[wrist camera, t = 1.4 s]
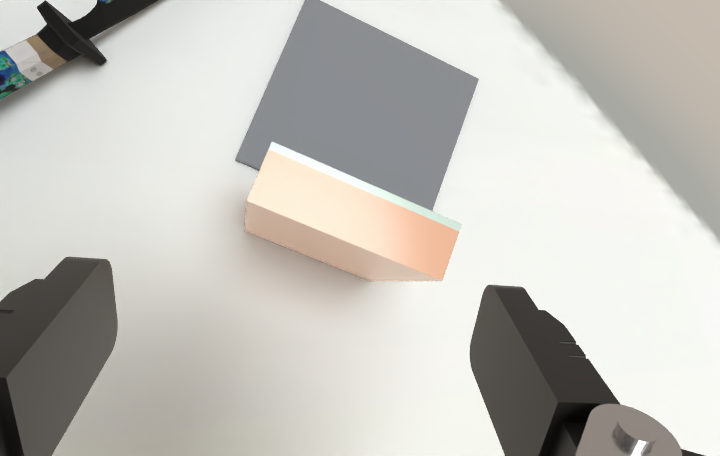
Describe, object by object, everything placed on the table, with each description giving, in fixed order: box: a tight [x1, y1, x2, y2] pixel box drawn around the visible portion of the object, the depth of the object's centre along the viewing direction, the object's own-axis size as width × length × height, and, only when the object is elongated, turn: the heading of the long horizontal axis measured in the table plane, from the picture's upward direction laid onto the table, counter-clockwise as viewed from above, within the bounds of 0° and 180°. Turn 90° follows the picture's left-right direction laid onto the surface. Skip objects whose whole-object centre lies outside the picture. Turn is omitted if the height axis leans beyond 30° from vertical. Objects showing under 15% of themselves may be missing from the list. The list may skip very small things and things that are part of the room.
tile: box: [244, 142, 462, 281], centre depth 31 cm, size 10×3×14 cm, turn 69°
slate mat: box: [236, 0, 479, 211], centre depth 39 cm, size 15×14×1 cm
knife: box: [0, 0, 158, 99], centre depth 34 cm, size 31×3×4 cm, turn 128°
